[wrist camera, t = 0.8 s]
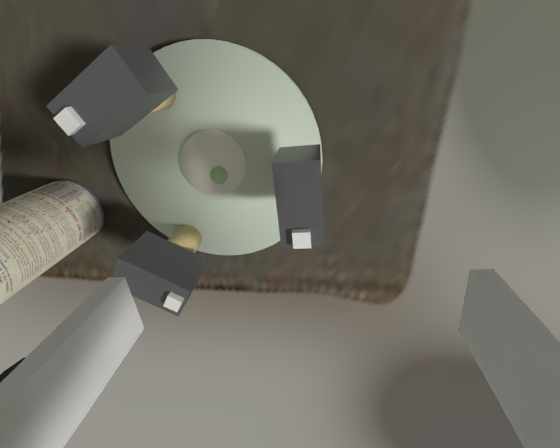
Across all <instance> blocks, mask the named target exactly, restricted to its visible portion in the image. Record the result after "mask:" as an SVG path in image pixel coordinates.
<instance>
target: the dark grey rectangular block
mask: <svg viewBox="0 0 560 448" xmlns="http://www.w3.org/2000/svg"><path fill="white" fill-rule="evenodd" d="M177 91H178V88H177V87H176V85H175V84H174V82H173V81H172V80H171V78H170V77H169V75H168V74H167V72H166V71H165V70H164V68H163V67H162V65H161V64H160V62H159V61H158V60H157V58H156V57H155V55H154V54H153V52H152V51H151V50H150V49H144V48H136V47H128V46H121V45H113V44H111V45H110V46H109V47H108V48H107V49H106V50H105V51H103V52H102V53H101V54H100V55H99V56H98V57H97V58H96V59H95V60H94V61H93V62H92V63H91V64H90V65H89V66H88V67H87V68H86V69H85V70H83V71H82V72H81V73H80V74H79V75H78V76H77V77H76V78H75V79H74V80H73V81H72V82H71V83H70V84H69V85H68V86H67V87H66V88H65V89H64V90H62V91H61V92H60V93H59V94H58V95H57V96H56V97H55V98H54V99H53V100H52V101H51V102H50V103H49V104H48V105H47V106H46V107H47V108H48V109H49V110H50V111H51V113H52V114H53V115H54V116H55V117H54V118H53V119H54V120H55V121H56V122H57V124H58V125H59V126H60V127H61V128H62V129H63V131H64V132H65V133H66V134H67V135H68V136H70V135H71V136H72V137H73V138H74V139H75V140H76V141H77V143H78V144H79V145H80V146H81V147H82V148H85V147H88V146H91V145H94V144H97V143H100V142H103V141H106V140H109V139H112V138H115V137H118V136H121V135H123V134H124V133H125V132H127V131H128V130H129V129H130V128H132V127H133V126H134V125H135V124H137V123H138V122H139V121H140V120H142V119H143V118H144V117H145V116H147V115H148V114H149V113H153V112H157V111H160V110H164V109H168V108H170V107H171V106H172V105H173V103H174V101H175V98H176V92H177Z"/></svg>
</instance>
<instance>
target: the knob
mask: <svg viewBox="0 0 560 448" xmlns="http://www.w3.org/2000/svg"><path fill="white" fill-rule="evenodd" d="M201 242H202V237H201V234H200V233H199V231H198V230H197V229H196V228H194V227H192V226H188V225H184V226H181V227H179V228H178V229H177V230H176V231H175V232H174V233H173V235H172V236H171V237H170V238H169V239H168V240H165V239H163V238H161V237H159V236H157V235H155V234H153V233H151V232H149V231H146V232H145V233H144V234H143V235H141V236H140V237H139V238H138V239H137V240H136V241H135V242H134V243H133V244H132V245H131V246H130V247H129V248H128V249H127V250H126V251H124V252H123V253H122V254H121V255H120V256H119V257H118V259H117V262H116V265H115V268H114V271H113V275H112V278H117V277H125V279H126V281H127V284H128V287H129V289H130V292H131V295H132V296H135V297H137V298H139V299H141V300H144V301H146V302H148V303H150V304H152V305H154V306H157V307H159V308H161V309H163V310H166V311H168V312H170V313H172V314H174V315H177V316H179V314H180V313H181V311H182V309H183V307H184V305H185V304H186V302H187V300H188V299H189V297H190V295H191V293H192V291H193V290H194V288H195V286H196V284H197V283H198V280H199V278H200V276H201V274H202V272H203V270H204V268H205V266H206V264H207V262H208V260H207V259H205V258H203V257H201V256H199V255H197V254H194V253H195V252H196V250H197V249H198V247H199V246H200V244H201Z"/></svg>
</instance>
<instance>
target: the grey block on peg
mask: <svg viewBox="0 0 560 448" xmlns="http://www.w3.org/2000/svg"><path fill="white" fill-rule="evenodd" d="M272 171H273V180H274V189H275V198H276V207H277V216H278V224H279V233H280V242H281V248H293V249H301V248H311V247H325V243H324V220H323V197H322V174H321V151H320V144H316V145H303V146H290V147H279V149H278V151H277V153H276V155H275V157H274V160H273V162H272Z"/></svg>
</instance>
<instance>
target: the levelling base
mask: <svg viewBox="0 0 560 448" xmlns="http://www.w3.org/2000/svg"><path fill="white" fill-rule="evenodd" d="M153 54H154V55H155V57H156V58H157V60H158V61H159V62H160V64H161V65H162V67H163V68H164V70H165V71H166V72H167V74H168V75H169V77H170V78H171V80H172V81H173V82H174V84H175V85H176V87H177V88H178V91H177V92H176V98H175V101H174V103H173V105H172V106H171V107H170V108H168V109H164V110H160V111H157V112H153V113H149V114H148V115H147V116H145V117H144V118H143V119H142V120H140V121H139V122H138V123H137V124H135V125H134V126H133V127H132V128H130V129H129V130H128V131H127V132H125V133H124V134H123V135H121V136H118V137H115V138H112V139H110V147H111V154H112V159H113V163H114V167H115V170H116V173H117V175H118V178H119V180H120V183H121V185H122V187H123V189H124V191H125V192H126V194H127V196H128V197H129V199H130V200H131V202H132V203H133V205H134V206H135V207H136V209H137V210H138V211H139V212H140V214H141V215H142V216H143V217H144V218H145V219H146V220H147V221H148V222H149V223H150V224H151V225H153V226H154V227H155V228H156V229H157V230H159V231H160V232H161V233H163V234H164V235H166V236H167V237H169V238H170V237H171V236H172V235H173V233H174V232H175V231H176V230H177V229H178V228H179V227H181V226H184V225H188V226H192V227H194V228H196V229H197V230H198V231H199V233H200V234H201V237H202V242H201V244H200V246H199V247H198V249H197V250H198V251H201V252H205V253H210V254H216V255H241V254H247V253H252V252H255V251H259V250H262V249H264V248H267V247H269V246H271V245H273V244H275V243H277V242H278V241H280V233H279V224H278V216H277V207H276V198H275V189H274V180H273V171H272V162H273V160H274V157H275V155H276V153H277V151H278V149H279V147H290V146H303V145H316V144H320V151H321V173H322V147H321V139H320V134H319V128H318V125H317V122H316V119H315V116H314V113H313V111H312V109H311V107H310V105H309V103H308V101H307V99H306V98H305V96H304V95H303V93H302V92H301V90H300V89H299V87H298V86H297V85H296V84H295V83H294V81H293V80H292V79H291V78H290V77H289V76H288V75H287V74H286V73H285V72H284V71H283V70H282V69H281V68H279V67H278V66H277V65H276V64H275V63H273V62H272V61H270V60H269V59H267V58H266V57H264V56H263V55H261V54H259V53H257V52H255V51H253V50H250V49H248V48H246V47H243V46H240V45H236V44H233V43H230V42H226V41H219V40H213V39H193V40H187V41H181V42H177V43H174V44H171V45H168V46H165V47H163V48H161V49H159V50H158V51H156V52H154V53H153Z"/></svg>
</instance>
